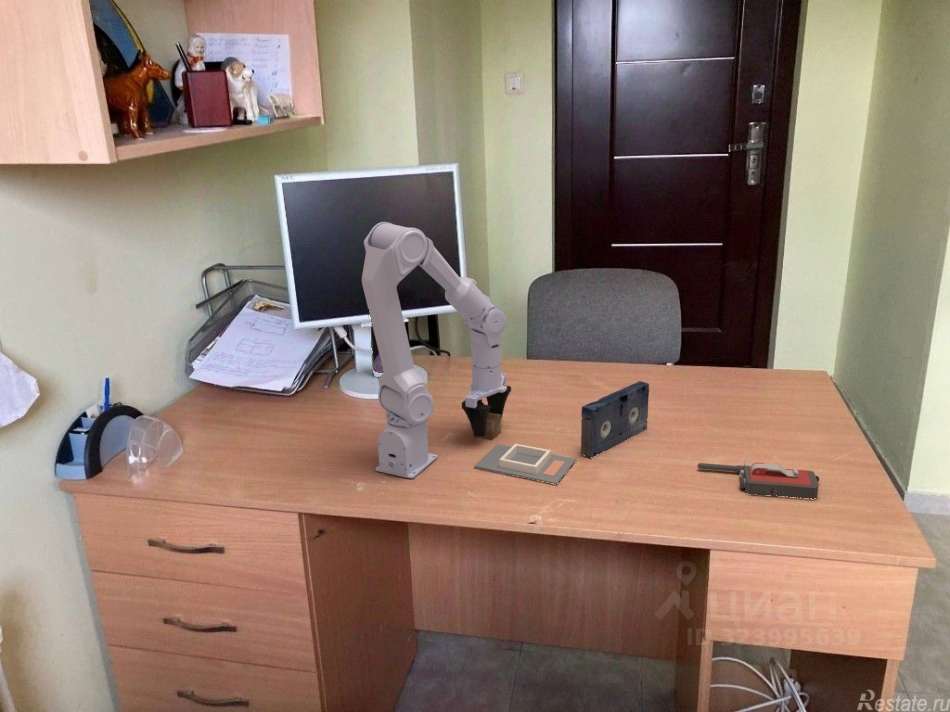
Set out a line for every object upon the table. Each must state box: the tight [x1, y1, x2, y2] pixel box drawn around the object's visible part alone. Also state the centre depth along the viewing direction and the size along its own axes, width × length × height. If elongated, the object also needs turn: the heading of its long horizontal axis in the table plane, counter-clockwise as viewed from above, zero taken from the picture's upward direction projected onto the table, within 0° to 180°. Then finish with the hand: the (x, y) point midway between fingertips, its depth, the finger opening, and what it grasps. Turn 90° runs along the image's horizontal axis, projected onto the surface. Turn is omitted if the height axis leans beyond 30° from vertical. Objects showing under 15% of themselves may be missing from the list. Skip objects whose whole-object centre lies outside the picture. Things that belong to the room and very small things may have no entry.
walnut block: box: [473, 413, 502, 441], centre depth 155 cm, size 4×4×4 cm
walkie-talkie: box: [697, 461, 820, 499], centre depth 134 cm, size 9×4×20 cm
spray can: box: [370, 326, 384, 373], centre depth 186 cm, size 6×6×20 cm
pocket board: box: [473, 443, 577, 484], centre depth 142 cm, size 10×16×2 cm, turn 63°
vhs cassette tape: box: [580, 380, 650, 459], centre depth 150 cm, size 18×3×10 cm, turn 132°
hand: (487, 428), depth 155 cm, fingers open, 7 cm apart
